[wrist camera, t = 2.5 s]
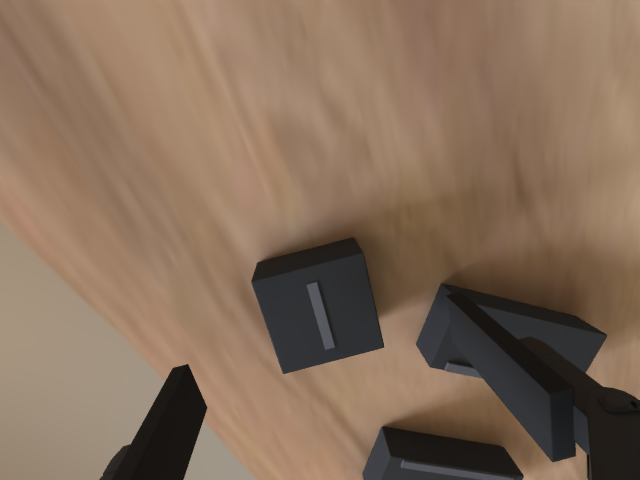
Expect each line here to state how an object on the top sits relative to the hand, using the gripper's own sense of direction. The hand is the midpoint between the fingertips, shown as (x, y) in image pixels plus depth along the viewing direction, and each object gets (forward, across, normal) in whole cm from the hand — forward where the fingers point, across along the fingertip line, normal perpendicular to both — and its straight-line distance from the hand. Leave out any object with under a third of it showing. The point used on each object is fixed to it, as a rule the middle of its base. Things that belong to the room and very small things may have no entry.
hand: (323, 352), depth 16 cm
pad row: (+6, +9, -12) cm, 16 cm away
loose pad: (+6, 0, 0) cm, 6 cm away
